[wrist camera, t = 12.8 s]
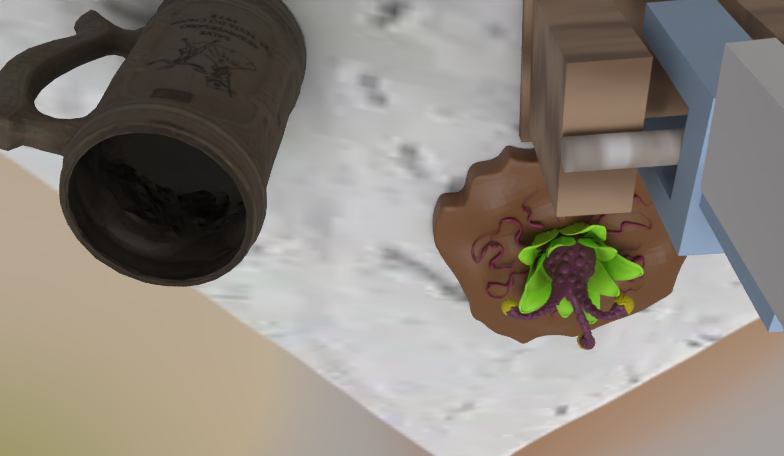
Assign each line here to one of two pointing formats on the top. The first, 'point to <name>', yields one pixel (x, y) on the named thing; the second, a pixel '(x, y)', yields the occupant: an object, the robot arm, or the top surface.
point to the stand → (604, 96)
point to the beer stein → (167, 133)
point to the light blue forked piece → (694, 130)
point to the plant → (549, 253)
